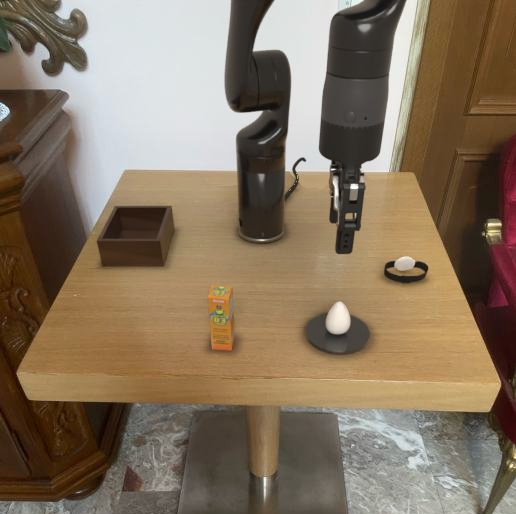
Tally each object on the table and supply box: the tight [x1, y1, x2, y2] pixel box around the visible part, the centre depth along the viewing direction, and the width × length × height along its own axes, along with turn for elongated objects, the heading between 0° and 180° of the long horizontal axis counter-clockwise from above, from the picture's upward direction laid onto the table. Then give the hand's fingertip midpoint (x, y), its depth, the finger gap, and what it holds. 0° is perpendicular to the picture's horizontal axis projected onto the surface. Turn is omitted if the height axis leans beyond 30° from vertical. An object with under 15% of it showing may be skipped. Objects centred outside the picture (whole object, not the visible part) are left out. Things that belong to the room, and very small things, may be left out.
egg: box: [326, 300, 351, 334], centre depth 80 cm, size 4×4×6 cm
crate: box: [96, 205, 176, 267], centre depth 102 cm, size 15×12×5 cm
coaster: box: [304, 312, 371, 356], centre depth 82 cm, size 10×10×1 cm
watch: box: [383, 255, 429, 284], centre depth 93 cm, size 8×5×4 cm, turn 88°
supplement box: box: [207, 284, 236, 352], centre depth 77 cm, size 3×3×10 cm
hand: (339, 236), depth 72 cm, fingers open, 8 cm apart
